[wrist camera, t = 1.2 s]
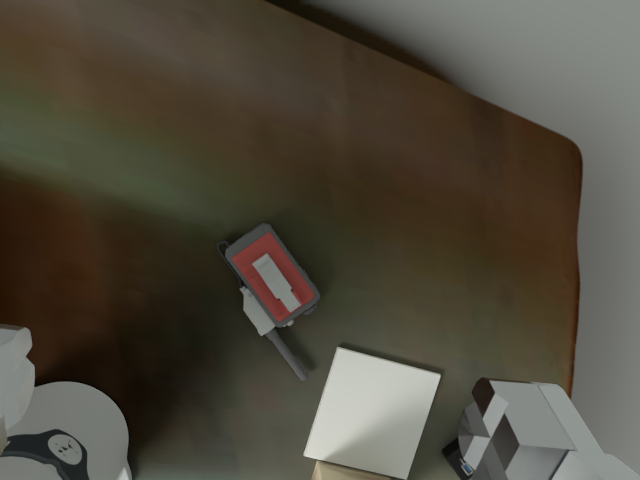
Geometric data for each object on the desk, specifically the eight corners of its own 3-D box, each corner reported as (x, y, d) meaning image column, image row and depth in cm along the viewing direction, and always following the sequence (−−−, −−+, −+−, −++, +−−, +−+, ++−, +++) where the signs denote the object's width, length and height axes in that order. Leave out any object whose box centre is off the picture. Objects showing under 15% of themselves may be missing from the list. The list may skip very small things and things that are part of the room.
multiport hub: (439, 449, 68) (445, 458, 66) (505, 400, 69) (513, 407, 66) (457, 473, 69) (463, 483, 67) (522, 424, 69) (531, 433, 67)
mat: (405, 477, 68) (406, 479, 67) (303, 453, 65) (304, 456, 65) (439, 373, 67) (441, 375, 66) (337, 346, 65) (338, 348, 64)
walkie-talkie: (202, 252, 62) (297, 380, 65) (198, 257, 57) (300, 394, 60) (262, 210, 62) (354, 339, 65) (262, 212, 58) (361, 350, 61)
